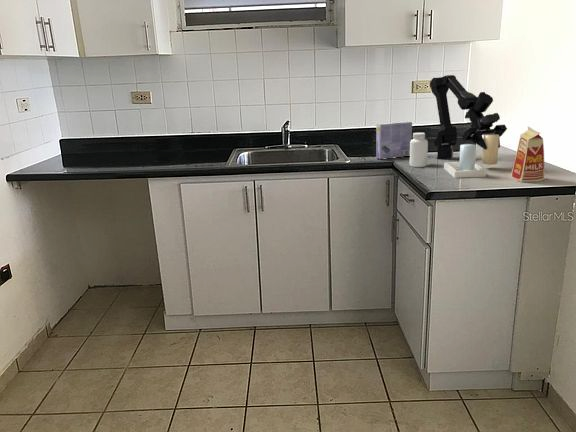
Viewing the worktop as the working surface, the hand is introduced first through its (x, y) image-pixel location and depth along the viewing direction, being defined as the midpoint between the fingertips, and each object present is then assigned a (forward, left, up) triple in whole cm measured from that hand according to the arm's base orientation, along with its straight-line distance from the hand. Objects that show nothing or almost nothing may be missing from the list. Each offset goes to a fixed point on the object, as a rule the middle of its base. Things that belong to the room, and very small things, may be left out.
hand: (492, 148), depth 208 cm
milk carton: (+16, -15, -10) cm, 24 cm away
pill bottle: (-32, +1, -10) cm, 34 cm away
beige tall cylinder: (-1, +1, -7) cm, 7 cm away
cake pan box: (-50, +19, -10) cm, 55 cm away
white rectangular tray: (-9, -10, -9) cm, 16 cm away
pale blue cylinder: (-7, -14, -9) cm, 18 cm away
